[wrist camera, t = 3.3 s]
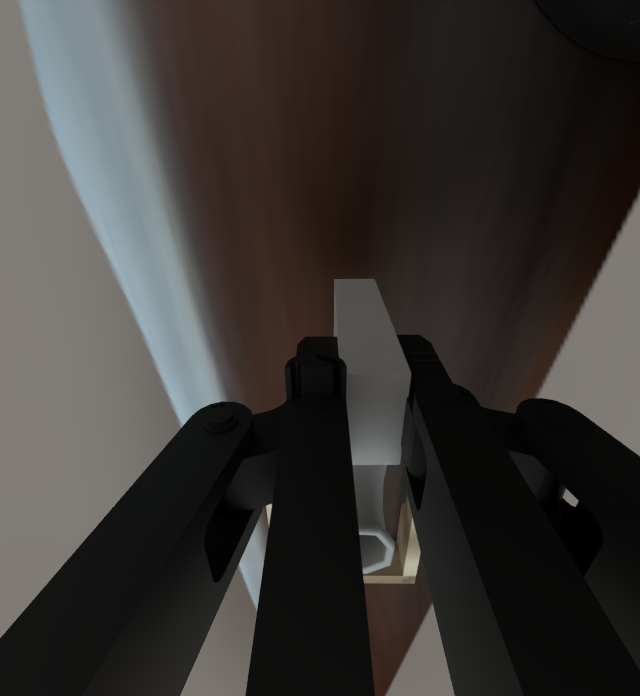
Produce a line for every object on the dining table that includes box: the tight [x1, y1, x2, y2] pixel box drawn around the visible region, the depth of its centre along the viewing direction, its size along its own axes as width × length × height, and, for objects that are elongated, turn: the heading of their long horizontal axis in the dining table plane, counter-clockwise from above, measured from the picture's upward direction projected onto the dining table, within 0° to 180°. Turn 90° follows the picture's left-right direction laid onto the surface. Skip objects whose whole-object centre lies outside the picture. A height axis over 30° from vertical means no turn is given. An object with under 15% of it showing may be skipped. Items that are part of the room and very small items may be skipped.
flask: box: [353, 465, 395, 574], centre depth 21 cm, size 7×7×10 cm
